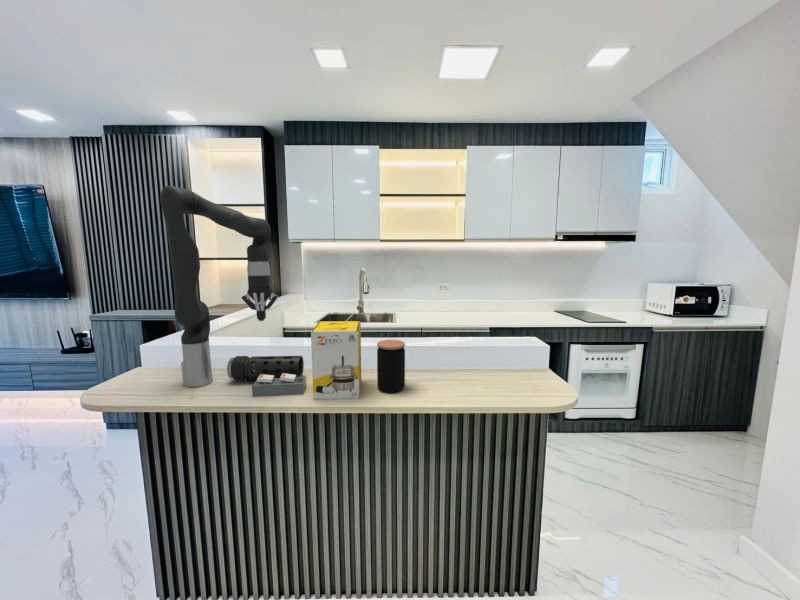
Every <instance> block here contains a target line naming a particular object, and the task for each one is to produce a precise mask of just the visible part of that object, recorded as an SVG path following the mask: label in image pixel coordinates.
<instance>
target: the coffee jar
mask: <svg viewBox="0 0 800 600" xmlns="http://www.w3.org/2000/svg"><path fill="white" fill-rule="evenodd" d="M376 345H377V350H376V359H377V360H376V361H377V362H376V363H377V364H376V366H377V367H376V370H377V372H376V373H377V374H376V375H377V377H376V378H377V385H376V386H377V388H378V389H379V391H380V390H381V391H380V392H382V393H385V392H386V393H385V394H396V393H395V392H397V393H400V392H401V390H402V389H403V390H404V388H405V385H406V355H405V354H406V350H405V349H406V348H405V347H406V343H405V342H404V341H402V340H398V339H384V340H381V341H378V342H377V343H376ZM403 390H402V391H403ZM399 391H400V392H399Z"/></svg>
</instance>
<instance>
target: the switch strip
mask: <svg viewBox="0 0 800 600" xmlns="http://www.w3.org/2000/svg"><path fill="white" fill-rule="evenodd" d="M306 378H307V377H306V376H302V377H296V378H295V380H294V382H290V381H284V380H280V378H274V379H273V381H272V382H271V383H270V382H259V381H257V380H256V381H254V383H253V384H252V385H251V395H252V396H251V397H254V398H255V397H270V396H271V397H272V396H290V395H291V396H292V395H293V396H294V395H304V393H305V390H306V387H307V379H306Z"/></svg>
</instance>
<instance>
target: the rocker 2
mask: <svg viewBox="0 0 800 600" xmlns="http://www.w3.org/2000/svg"><path fill="white" fill-rule="evenodd" d="M295 378H296V375H293V374H287V373H283V374H282V375H281V377H280V380H284V381H290V382H294V380H295Z"/></svg>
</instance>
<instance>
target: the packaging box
mask: <svg viewBox="0 0 800 600" xmlns="http://www.w3.org/2000/svg"><path fill="white" fill-rule="evenodd" d="M361 330H362V329H361V321H360V320H359V321H358V320H357V321H356V320H354V321H353V320H351V321H350V320H349V321H348V320H347V321H342V320H341V321H319V322H318V323H317V324H316V325H315V326H314V327H313V329H312V330H311V331H310V342H311V343H310V344H311V348H310V349H311V369H312V393H313V394H312V395H313V396H312V397H313V398H312V399H313V401H314V400H315V401H316V400H317V399H319V400H348V399H349V400H351V399H353V400H356V398H357V399H360V394H361V388H360V387H362V343H361V342H362V340H361V339H362V337H361V336H362V335H361V334H362V331H361Z"/></svg>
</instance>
